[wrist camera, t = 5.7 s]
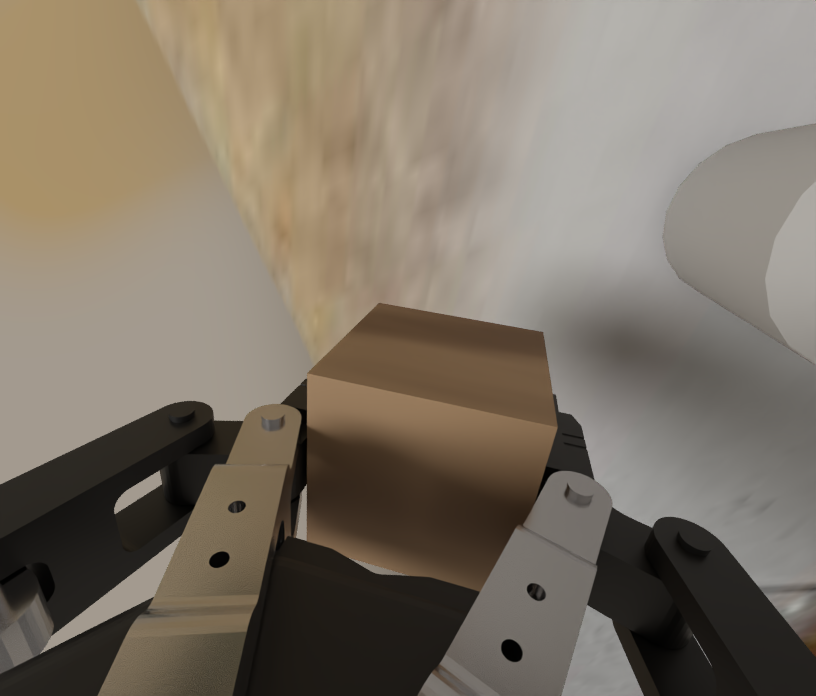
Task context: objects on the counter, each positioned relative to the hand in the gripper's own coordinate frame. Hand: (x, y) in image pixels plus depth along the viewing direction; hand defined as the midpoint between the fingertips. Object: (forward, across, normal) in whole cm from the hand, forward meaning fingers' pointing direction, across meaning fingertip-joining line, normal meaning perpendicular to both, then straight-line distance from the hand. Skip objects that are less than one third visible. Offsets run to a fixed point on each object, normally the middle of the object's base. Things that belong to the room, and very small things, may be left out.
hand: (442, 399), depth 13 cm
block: (+1, 0, 0) cm, 1 cm away
